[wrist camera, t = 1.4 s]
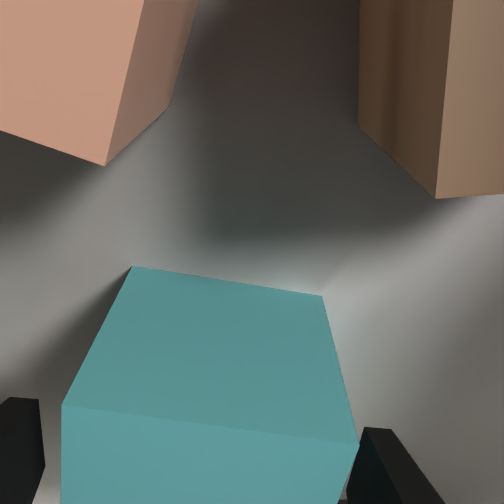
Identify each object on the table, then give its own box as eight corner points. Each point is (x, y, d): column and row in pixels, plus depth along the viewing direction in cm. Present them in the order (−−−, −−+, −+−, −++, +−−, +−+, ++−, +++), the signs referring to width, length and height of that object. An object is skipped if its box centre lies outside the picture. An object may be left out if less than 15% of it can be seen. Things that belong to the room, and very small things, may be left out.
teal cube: (321, 294, 12) (359, 445, 8) (282, 430, 15) (295, 611, 10) (133, 264, 12) (61, 405, 8) (121, 408, 14) (60, 585, 10)
